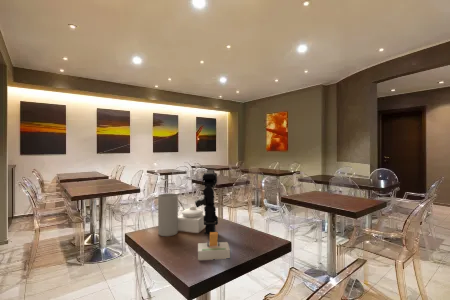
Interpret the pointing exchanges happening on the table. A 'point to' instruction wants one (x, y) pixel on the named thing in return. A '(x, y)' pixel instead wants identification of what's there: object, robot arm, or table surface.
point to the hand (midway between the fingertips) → (209, 220)
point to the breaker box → (213, 251)
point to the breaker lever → (213, 238)
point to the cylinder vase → (167, 214)
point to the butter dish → (191, 220)
